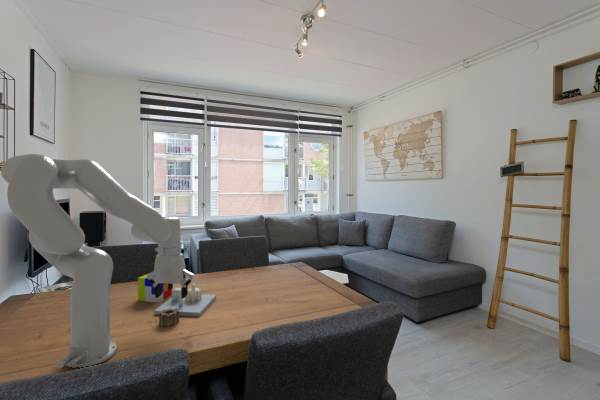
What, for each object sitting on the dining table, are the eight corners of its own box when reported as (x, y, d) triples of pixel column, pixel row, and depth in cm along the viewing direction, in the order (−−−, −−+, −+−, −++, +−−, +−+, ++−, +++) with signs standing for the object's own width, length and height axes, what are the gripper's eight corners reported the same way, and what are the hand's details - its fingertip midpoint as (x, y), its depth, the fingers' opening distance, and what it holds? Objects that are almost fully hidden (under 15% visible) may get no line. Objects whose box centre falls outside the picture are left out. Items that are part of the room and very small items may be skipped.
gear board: (199, 316, 114) (199, 295, 114) (154, 314, 115) (154, 294, 115) (216, 298, 133) (216, 280, 133) (177, 296, 134) (177, 279, 134)
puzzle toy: (158, 302, 127) (158, 279, 127) (138, 300, 129) (137, 277, 129) (172, 294, 137) (172, 273, 136) (153, 292, 139) (153, 271, 138)
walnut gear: (173, 327, 105) (173, 315, 105) (155, 326, 105) (155, 315, 105) (181, 319, 112) (181, 308, 111) (165, 318, 112) (165, 307, 112)
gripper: (140, 253, 104) (142, 300, 106) (188, 253, 103) (190, 301, 105) (152, 248, 112) (154, 292, 113) (197, 248, 111) (198, 293, 112)
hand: (171, 296), depth 109 cm, fingers open, 9 cm apart
